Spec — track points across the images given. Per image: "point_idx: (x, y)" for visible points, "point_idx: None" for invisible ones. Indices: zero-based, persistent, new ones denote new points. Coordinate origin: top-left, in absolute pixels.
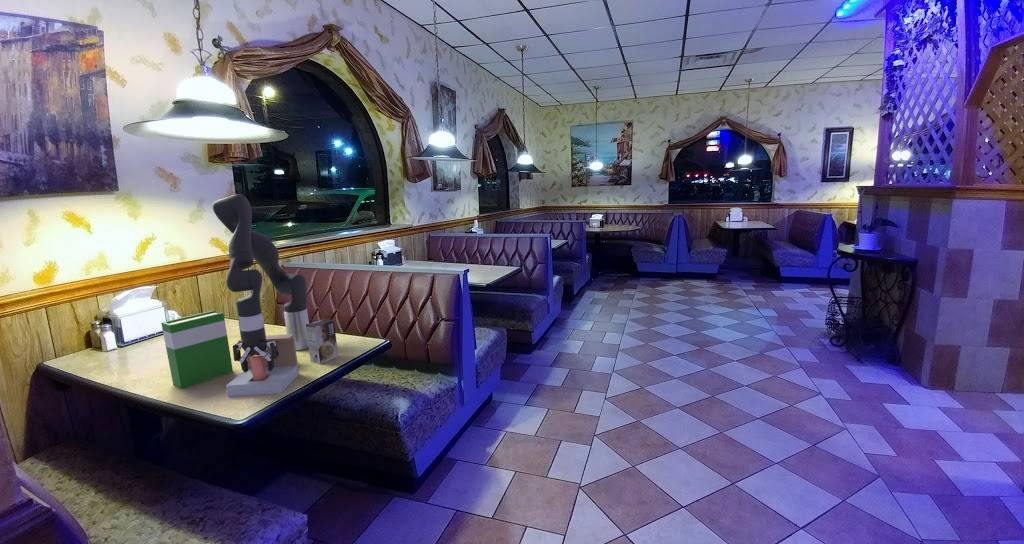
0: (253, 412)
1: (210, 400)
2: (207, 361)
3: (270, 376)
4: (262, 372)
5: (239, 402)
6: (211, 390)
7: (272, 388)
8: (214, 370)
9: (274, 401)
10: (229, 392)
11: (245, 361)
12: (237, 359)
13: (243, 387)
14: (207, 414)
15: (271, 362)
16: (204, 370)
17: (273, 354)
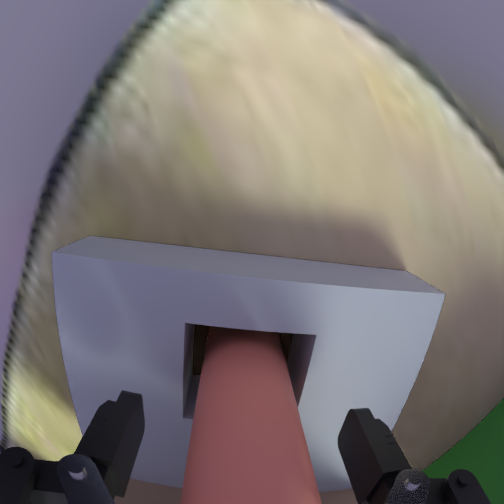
0: (180, 9)
1: (467, 242)
2: (498, 478)
3: (169, 385)
4: (202, 394)
5: (316, 157)
6: (471, 354)
7: (123, 248)
8: (464, 464)
9: (96, 121)
10: (408, 276)
11: (372, 492)
12: (450, 487)
13: (333, 277)
14: (425, 67)
15: (84, 444)
16: (496, 449)
17: (3, 488)
